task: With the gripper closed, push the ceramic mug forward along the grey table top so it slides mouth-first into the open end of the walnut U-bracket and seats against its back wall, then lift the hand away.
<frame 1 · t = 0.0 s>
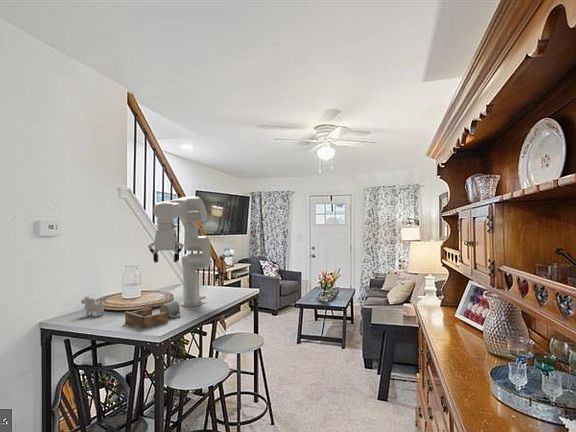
hand: (166, 262, 166), 31 cm above the table, tool pointing down, fingers open, 9 cm apart
grey animal figurine: (92, 315, 188), on the table
bracket: (147, 322, 172), on the table
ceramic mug: (171, 316, 183), on the table
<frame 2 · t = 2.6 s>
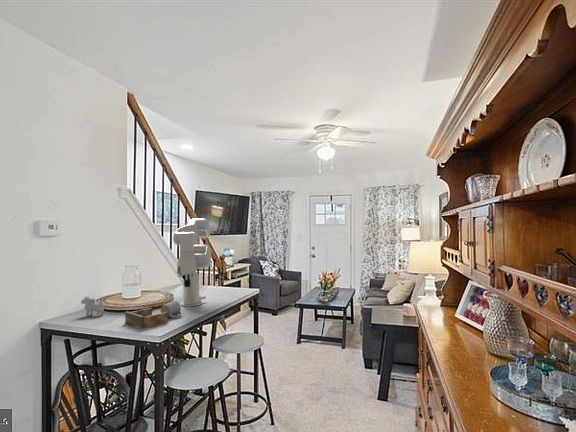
hand: (187, 286, 191), 15 cm above the table, tool pointing down, fingers closed
nothing on the table moved.
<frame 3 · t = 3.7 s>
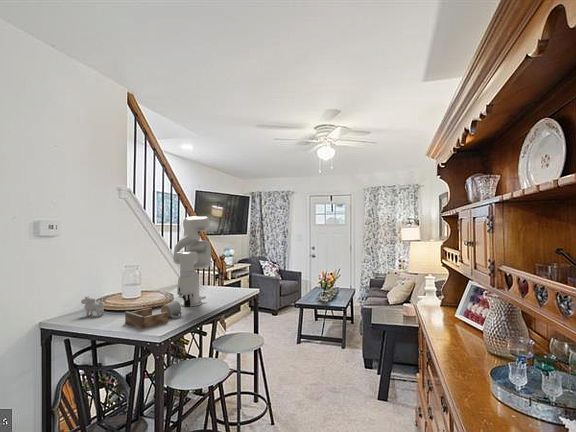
hand: (187, 306, 191), 3 cm above the table, tool pointing down, fingers closed
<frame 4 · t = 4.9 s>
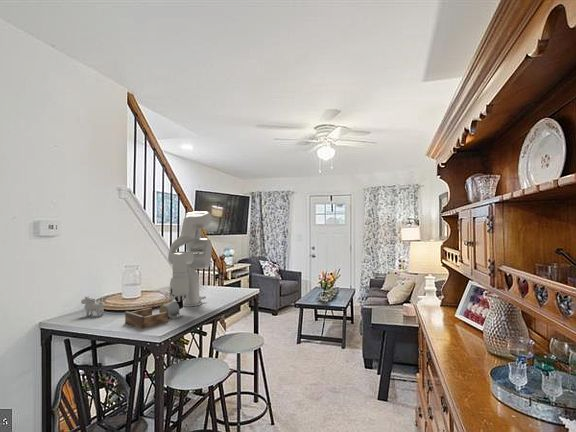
hand: (179, 308, 187), 3 cm above the table, tool pointing down, fingers closed
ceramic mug: (171, 317, 181), on the table, touching gripper
everything else where it was.
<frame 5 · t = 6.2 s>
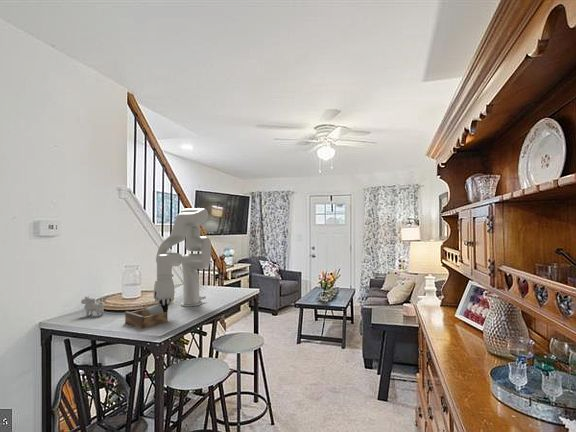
hand: (164, 311, 180), 3 cm above the table, tool pointing down, fingers closed
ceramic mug: (154, 321, 174), on the table, touching gripper
everything else where it was.
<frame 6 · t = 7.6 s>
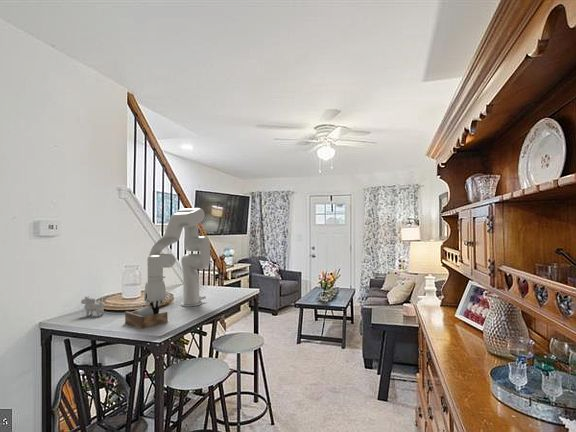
hand: (155, 314, 176), 3 cm above the table, tool pointing down, fingers closed
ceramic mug: (144, 323, 171), on the table, touching gripper
everything else where it was.
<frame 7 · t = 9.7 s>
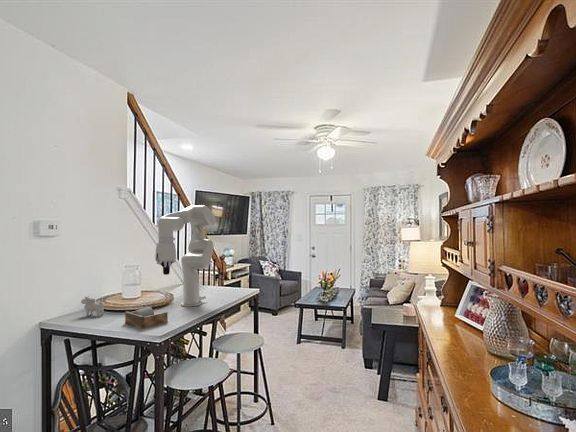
hand: (166, 274, 182), 23 cm above the table, tool pointing down, fingers closed
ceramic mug: (145, 324, 170), on the table
everything else where it was.
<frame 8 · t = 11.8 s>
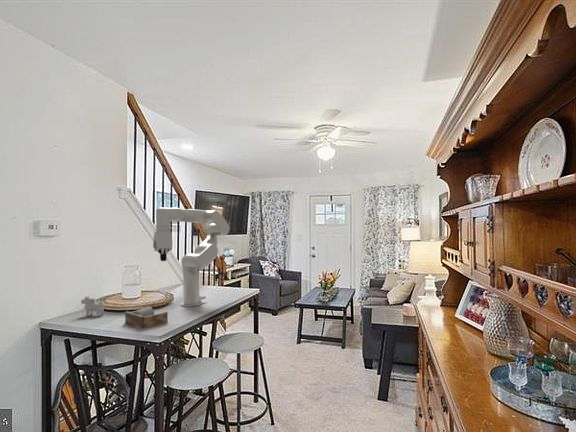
hand: (163, 260, 194), 29 cm above the table, tool pointing down, fingers closed
nothing on the table moved.
at the end: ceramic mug inside the target area on the bracket (1.6 cm from its centre), point 0.0 cm above the bracket's base; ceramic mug tilted 0°; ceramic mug moved 15.6 cm from its start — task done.
